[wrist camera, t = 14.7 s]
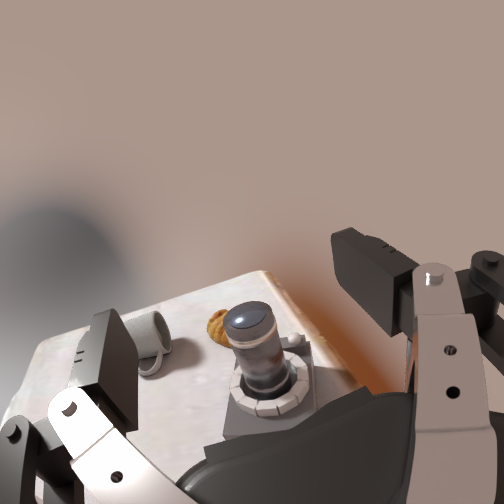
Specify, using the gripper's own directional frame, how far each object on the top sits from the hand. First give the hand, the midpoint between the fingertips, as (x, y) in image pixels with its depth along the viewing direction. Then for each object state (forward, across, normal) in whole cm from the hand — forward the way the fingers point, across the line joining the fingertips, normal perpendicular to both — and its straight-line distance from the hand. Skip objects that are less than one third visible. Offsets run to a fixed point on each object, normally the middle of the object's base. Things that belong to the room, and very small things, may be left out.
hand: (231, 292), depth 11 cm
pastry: (+34, -1, -30) cm, 45 cm away
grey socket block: (+15, +1, -29) cm, 33 cm away
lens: (+15, +1, -24) cm, 29 cm away
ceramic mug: (+35, -16, -30) cm, 49 cm away
